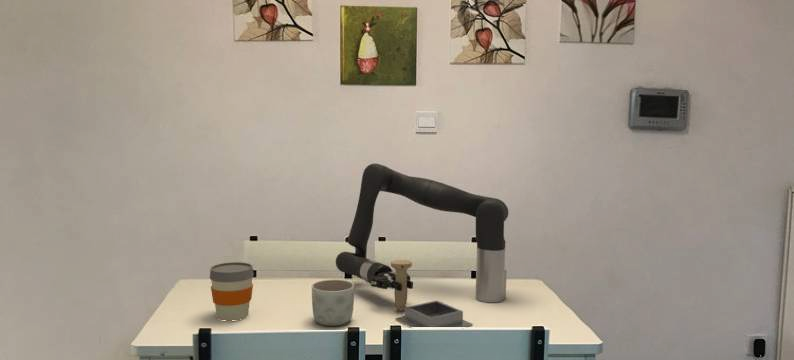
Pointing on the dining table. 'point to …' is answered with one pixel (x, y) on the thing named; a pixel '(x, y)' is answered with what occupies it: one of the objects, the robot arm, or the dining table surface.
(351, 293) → the planter
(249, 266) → the reusable coffee cup
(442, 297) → the dining table surface
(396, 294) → the handle
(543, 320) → the dining table surface
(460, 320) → the grey square tray
